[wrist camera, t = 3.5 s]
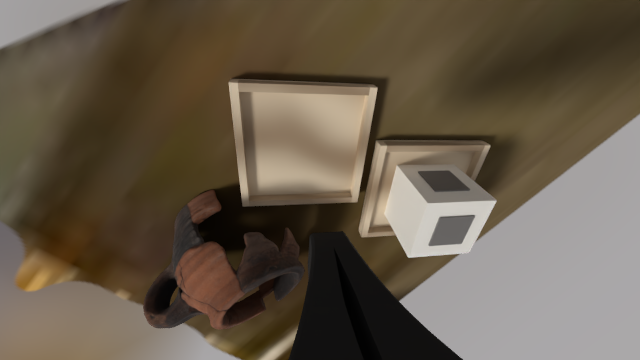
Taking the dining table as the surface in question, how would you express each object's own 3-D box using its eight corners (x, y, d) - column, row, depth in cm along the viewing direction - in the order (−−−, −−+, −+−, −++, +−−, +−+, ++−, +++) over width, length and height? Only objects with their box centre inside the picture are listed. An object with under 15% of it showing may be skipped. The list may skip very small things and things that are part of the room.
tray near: (354, 194, 22) (357, 202, 21) (243, 198, 21) (242, 206, 20) (372, 84, 17) (377, 87, 17) (230, 78, 16) (228, 82, 15)
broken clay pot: (236, 157, 19) (291, 247, 15) (282, 204, 28) (326, 271, 23) (93, 257, 18) (110, 382, 14) (185, 275, 27) (213, 358, 22)
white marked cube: (435, 211, 24) (470, 254, 20) (384, 214, 23) (409, 258, 19) (454, 162, 22) (499, 200, 17) (397, 163, 21) (429, 203, 16)
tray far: (446, 224, 26) (452, 231, 25) (358, 229, 24) (361, 237, 24) (482, 140, 21) (491, 145, 20) (376, 140, 20) (380, 145, 19)
